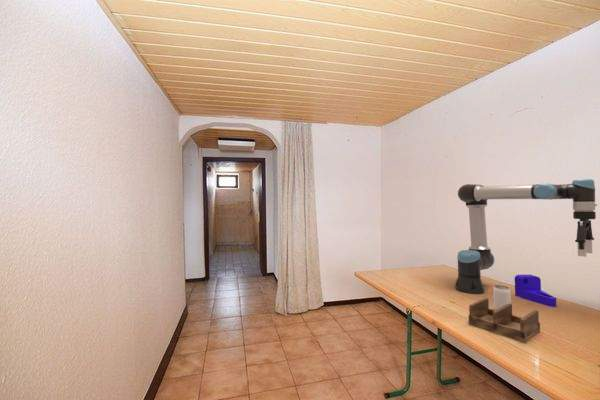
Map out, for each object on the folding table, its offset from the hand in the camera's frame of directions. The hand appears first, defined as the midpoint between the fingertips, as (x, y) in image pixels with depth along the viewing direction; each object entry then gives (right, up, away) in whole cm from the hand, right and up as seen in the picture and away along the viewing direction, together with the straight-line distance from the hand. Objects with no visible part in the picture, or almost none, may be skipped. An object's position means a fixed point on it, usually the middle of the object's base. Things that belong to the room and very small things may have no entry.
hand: (585, 254), depth 131 cm
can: (-41, -28, -1) cm, 49 cm away
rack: (-53, -27, -17) cm, 62 cm away
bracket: (-11, -28, +13) cm, 33 cm away
